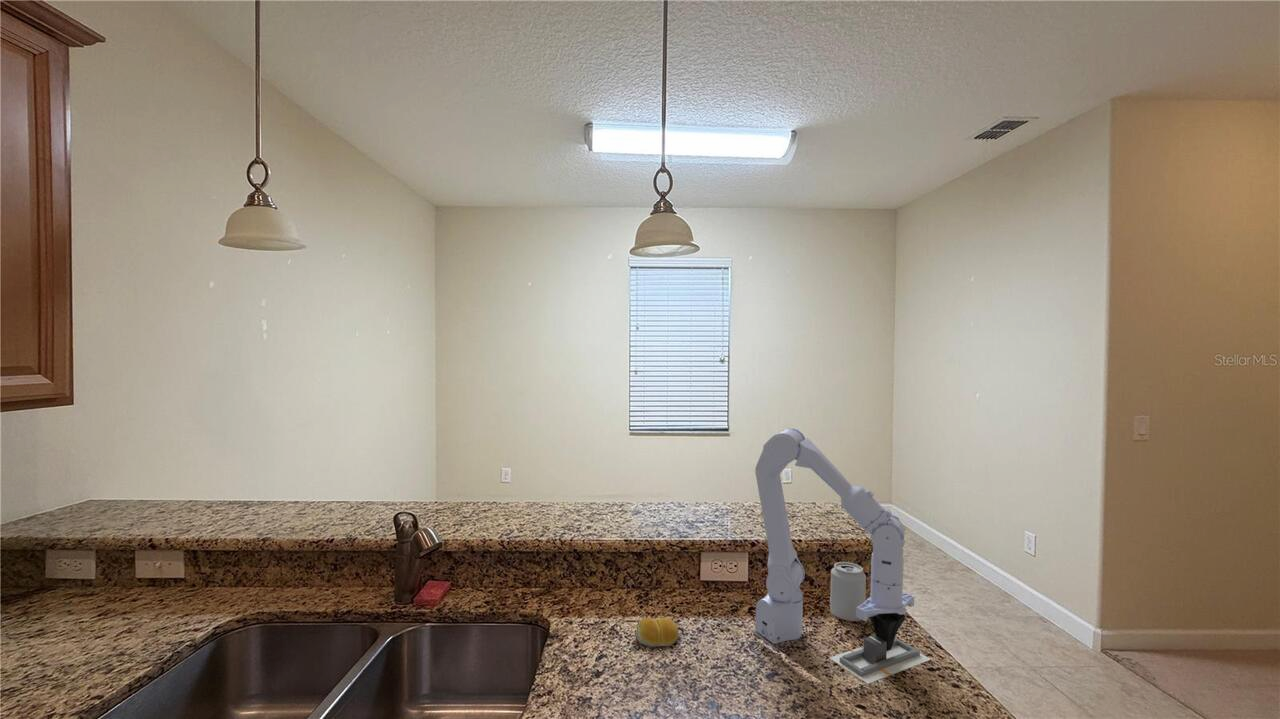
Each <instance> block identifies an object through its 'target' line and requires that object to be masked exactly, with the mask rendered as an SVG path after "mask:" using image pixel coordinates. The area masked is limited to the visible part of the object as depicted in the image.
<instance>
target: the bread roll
mask: <svg viewBox="0 0 1280 719" xmlns="http://www.w3.org/2000/svg"><path fill="white" fill-rule="evenodd" d="M679 635H680V632H679V627H678V625H677V624H676V622H674V620H673V619H670V618H667V617H656V618H655V619H654V618H652V617H651V618H650V617H644V618H642V619H640V620H639V621H638V624H637V626H636V630H635V636H636V639H637V642H638V643H639V644H641V645H643V646H646V647H651V648H652V647H669V646H672V645H674V643H675V642H676V641H677V640H678V639H679Z"/></svg>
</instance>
